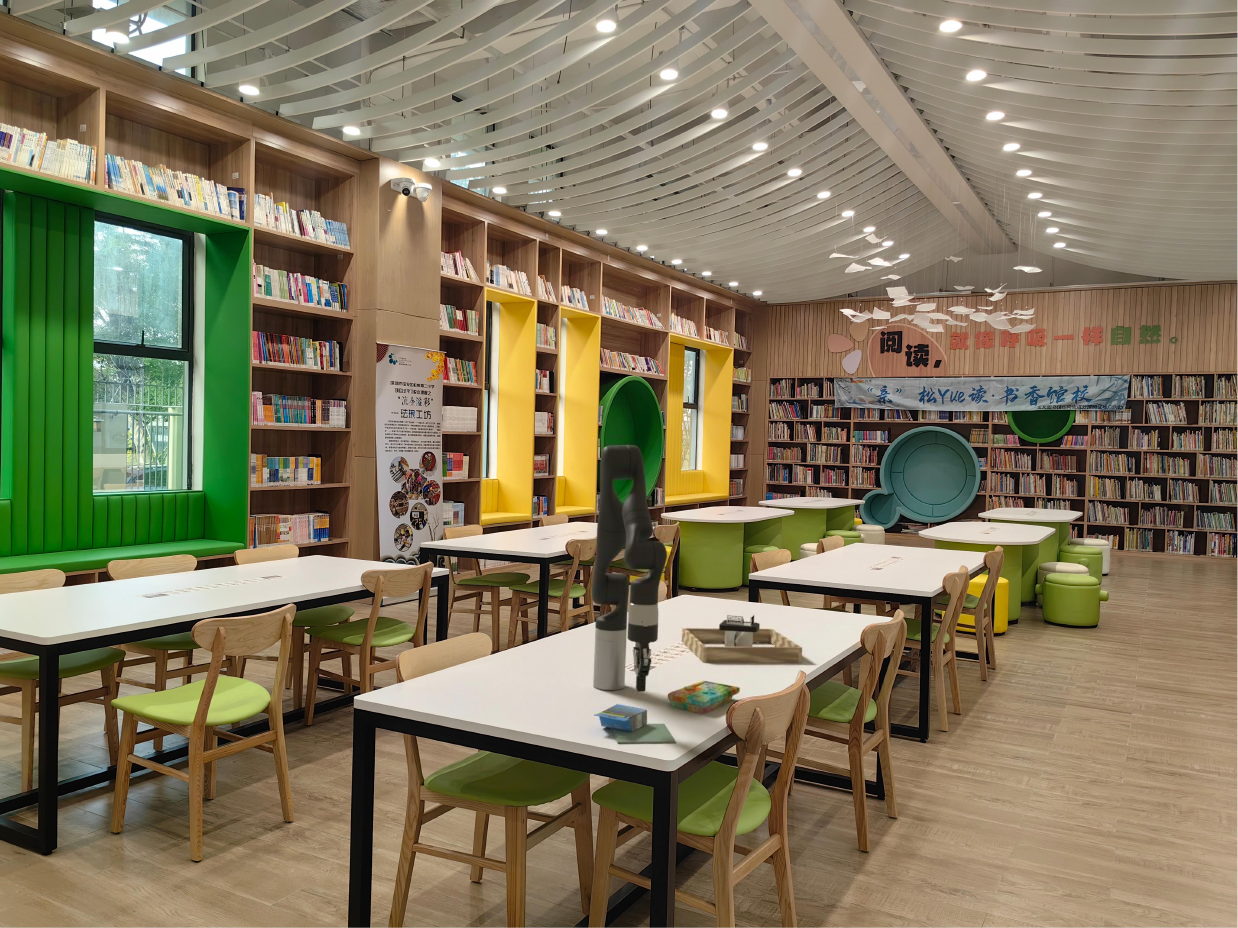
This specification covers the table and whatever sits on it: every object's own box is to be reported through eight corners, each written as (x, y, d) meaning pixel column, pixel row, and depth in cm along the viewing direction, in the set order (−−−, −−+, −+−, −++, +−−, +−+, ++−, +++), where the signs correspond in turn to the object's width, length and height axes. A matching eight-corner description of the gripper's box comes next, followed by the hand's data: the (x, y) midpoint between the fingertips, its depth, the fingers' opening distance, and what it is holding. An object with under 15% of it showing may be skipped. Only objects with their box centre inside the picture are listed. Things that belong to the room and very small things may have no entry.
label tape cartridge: (616, 718, 231) (592, 730, 220) (616, 703, 231) (592, 714, 220) (647, 724, 227) (624, 736, 216) (647, 708, 227) (624, 720, 216)
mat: (609, 725, 226) (609, 723, 226) (664, 724, 228) (664, 723, 228) (617, 743, 212) (617, 741, 212) (675, 742, 215) (675, 741, 215)
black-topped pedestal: (691, 655, 311) (693, 617, 311) (707, 641, 336) (709, 605, 336) (773, 664, 302) (774, 624, 302) (783, 649, 327) (784, 612, 327)
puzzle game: (667, 690, 245) (703, 677, 262) (667, 708, 245) (702, 693, 262) (705, 698, 238) (739, 684, 255) (705, 716, 238) (739, 700, 255)
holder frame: (681, 641, 332) (682, 628, 332) (771, 642, 337) (772, 628, 337) (702, 662, 300) (703, 647, 300) (801, 662, 305) (802, 647, 305)
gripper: (624, 616, 230) (621, 683, 230) (632, 626, 217) (629, 697, 217) (653, 616, 231) (650, 683, 231) (663, 626, 218) (660, 697, 218)
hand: (640, 690), depth 224 cm, fingers closed
